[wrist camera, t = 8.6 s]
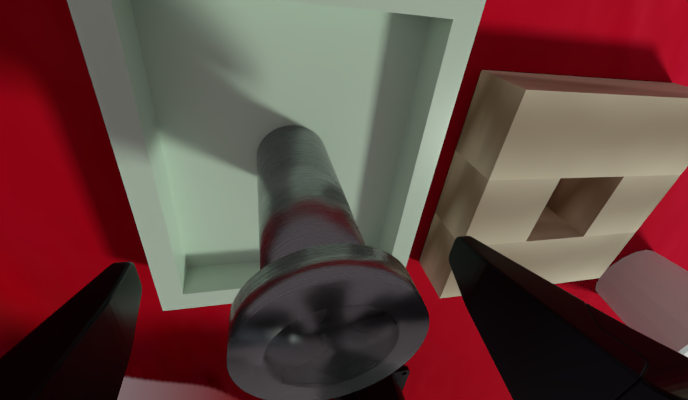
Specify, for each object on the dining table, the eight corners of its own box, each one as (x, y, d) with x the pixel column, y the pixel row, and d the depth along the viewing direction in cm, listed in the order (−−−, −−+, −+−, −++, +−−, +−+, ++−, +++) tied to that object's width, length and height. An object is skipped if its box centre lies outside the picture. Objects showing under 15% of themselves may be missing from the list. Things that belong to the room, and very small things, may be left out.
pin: (336, 197, 16) (406, 384, 9) (242, 201, 15) (235, 417, 8) (346, 109, 14) (453, 269, 6) (235, 106, 12) (214, 294, 5)
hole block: (565, 247, 24) (599, 277, 22) (418, 261, 21) (439, 298, 19) (672, 82, 18) (738, 100, 15) (481, 69, 15) (525, 89, 12)
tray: (385, 253, 20) (400, 284, 18) (172, 271, 17) (163, 310, 15) (452, -17, 13) (490, -13, 11) (86, -68, 10) (43, -77, 8)
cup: (600, 259, 27) (693, 336, 21) (675, 234, 27) (785, 303, 22) (580, 307, 31) (653, 383, 25) (645, 285, 31) (731, 354, 26)
